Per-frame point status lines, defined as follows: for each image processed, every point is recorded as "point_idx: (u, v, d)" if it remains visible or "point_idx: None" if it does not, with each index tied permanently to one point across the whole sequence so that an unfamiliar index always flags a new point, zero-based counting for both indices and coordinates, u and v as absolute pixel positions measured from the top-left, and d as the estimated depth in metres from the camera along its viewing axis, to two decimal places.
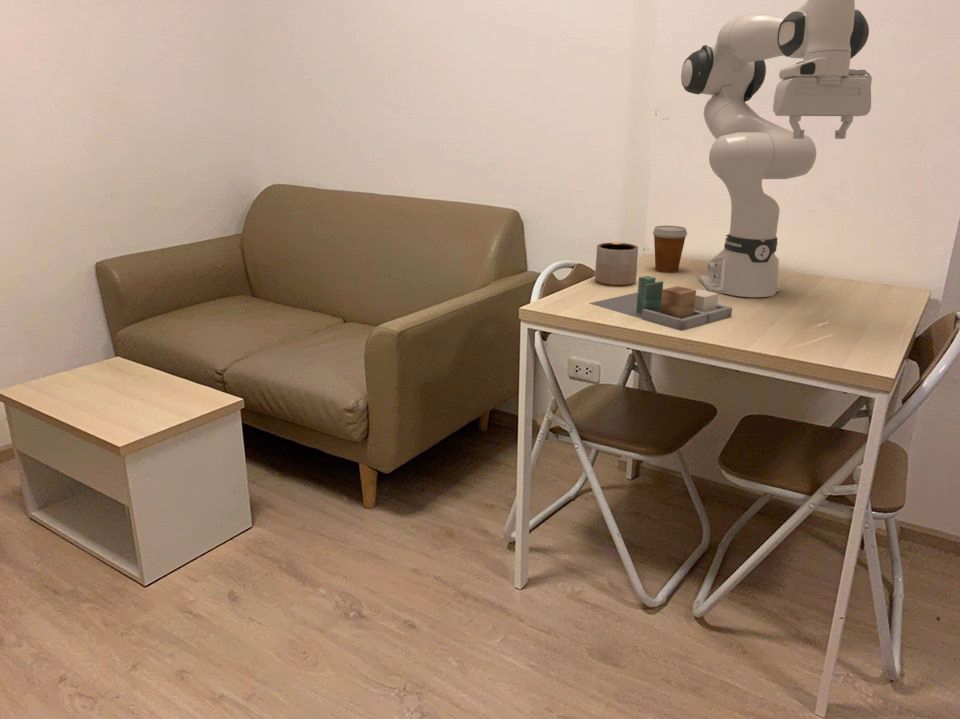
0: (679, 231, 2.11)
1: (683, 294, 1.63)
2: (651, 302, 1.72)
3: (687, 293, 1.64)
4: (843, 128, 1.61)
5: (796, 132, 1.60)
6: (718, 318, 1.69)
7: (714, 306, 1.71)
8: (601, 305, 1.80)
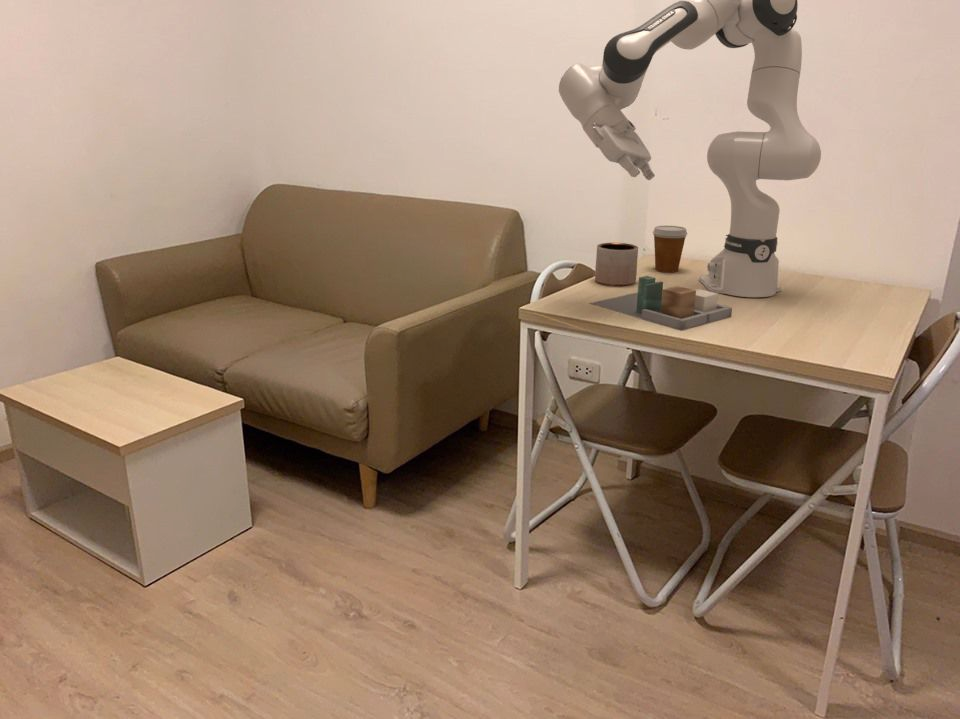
0: (679, 231, 2.11)
1: (683, 294, 1.63)
2: (651, 302, 1.72)
3: (687, 293, 1.64)
4: None
5: None
6: (718, 318, 1.69)
7: (714, 306, 1.71)
8: (601, 305, 1.80)
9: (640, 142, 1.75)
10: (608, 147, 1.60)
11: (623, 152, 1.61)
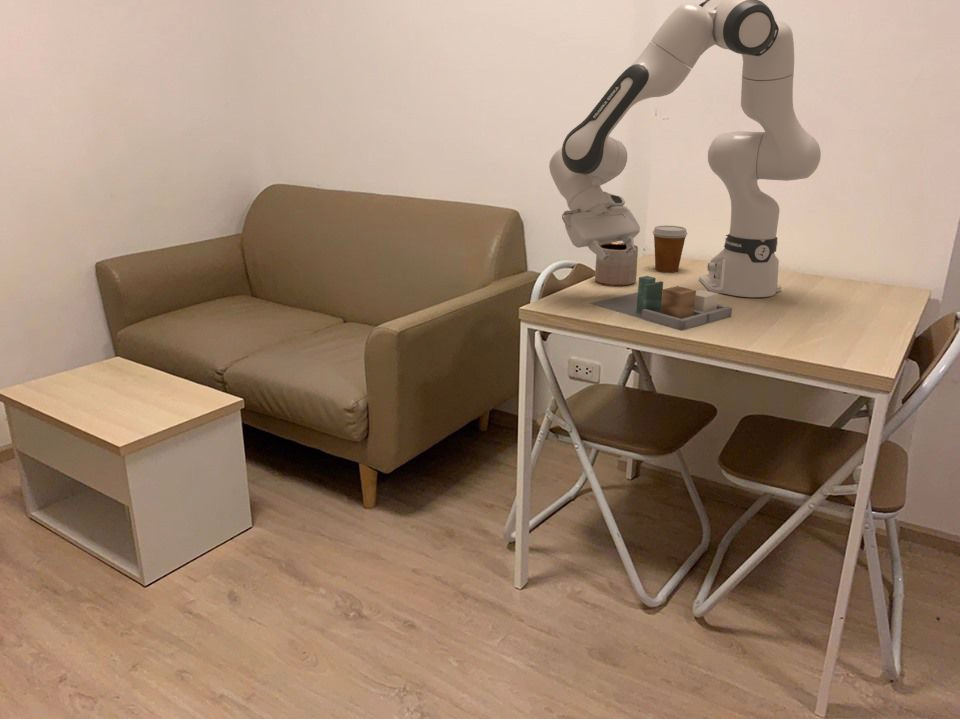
0: (679, 231, 2.11)
1: (683, 294, 1.63)
2: (651, 302, 1.72)
3: (687, 293, 1.64)
4: None
5: None
6: (718, 318, 1.69)
7: (714, 306, 1.71)
8: (601, 305, 1.80)
9: (629, 216, 1.83)
10: (574, 235, 1.74)
11: (589, 239, 1.73)
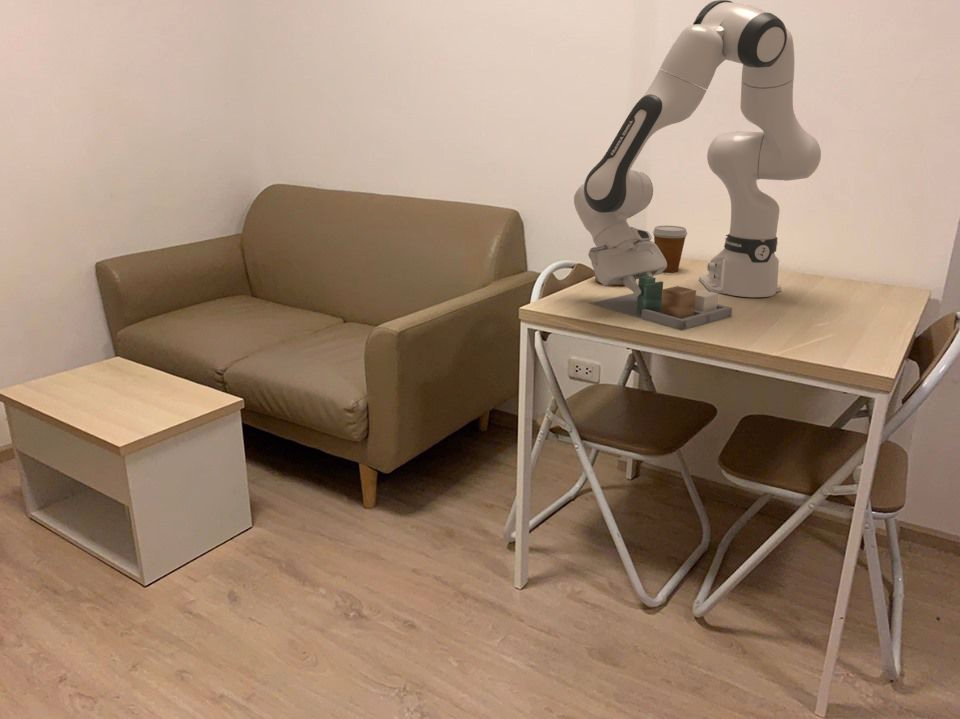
0: (679, 231, 2.11)
1: (683, 294, 1.63)
2: (651, 302, 1.72)
3: (687, 293, 1.64)
4: None
5: None
6: (718, 318, 1.69)
7: (714, 306, 1.71)
8: (601, 305, 1.80)
9: (656, 251, 1.79)
10: (601, 274, 1.69)
11: (616, 277, 1.69)
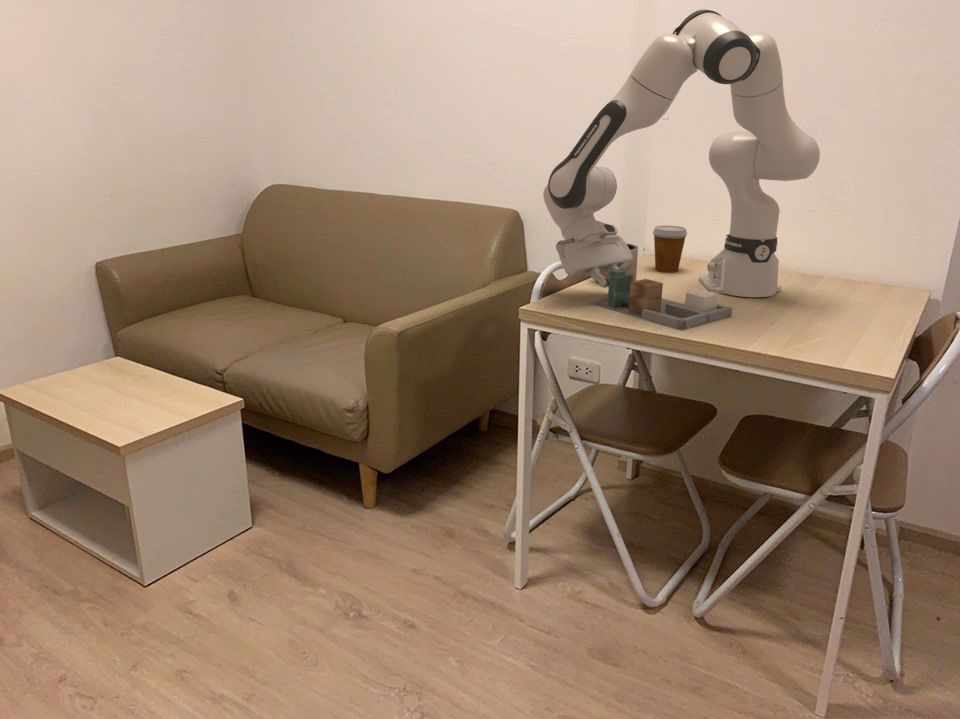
0: (679, 231, 2.11)
1: (650, 286, 1.69)
2: (621, 294, 1.78)
3: (654, 285, 1.70)
4: None
5: None
6: (718, 318, 1.69)
7: (714, 306, 1.71)
8: (601, 305, 1.80)
9: (622, 244, 1.87)
10: (567, 265, 1.77)
11: (582, 269, 1.77)
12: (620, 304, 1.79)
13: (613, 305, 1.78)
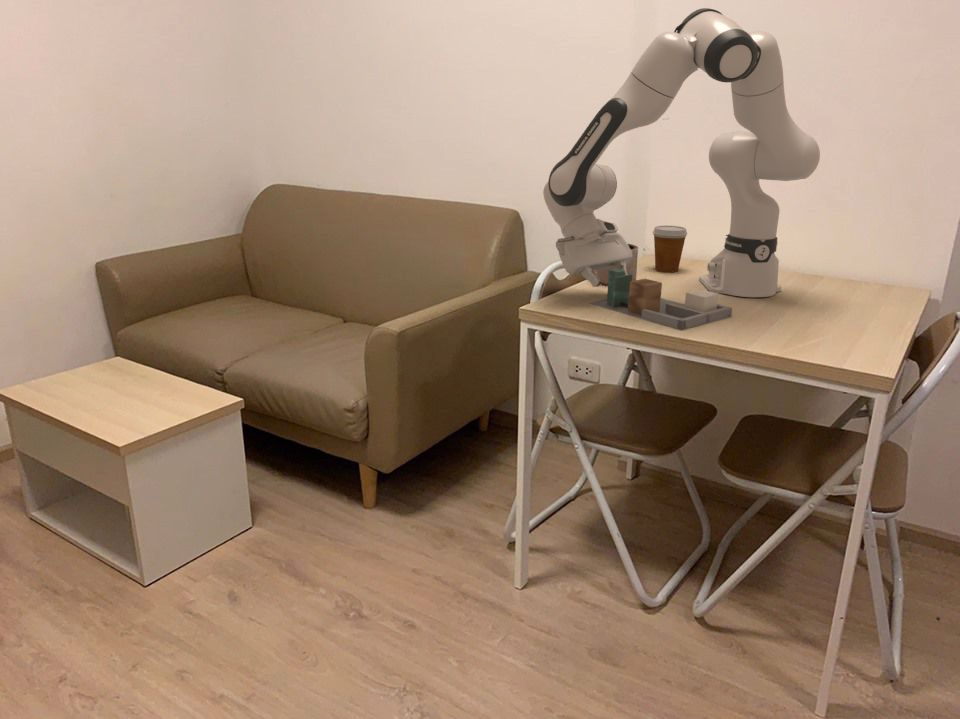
0: (679, 231, 2.11)
1: (649, 286, 1.69)
2: (620, 294, 1.78)
3: (653, 285, 1.70)
4: None
5: None
6: (718, 318, 1.69)
7: (714, 306, 1.71)
8: (601, 305, 1.80)
9: (621, 242, 1.87)
10: (567, 263, 1.77)
11: (582, 267, 1.77)
12: (619, 304, 1.79)
13: (612, 305, 1.78)
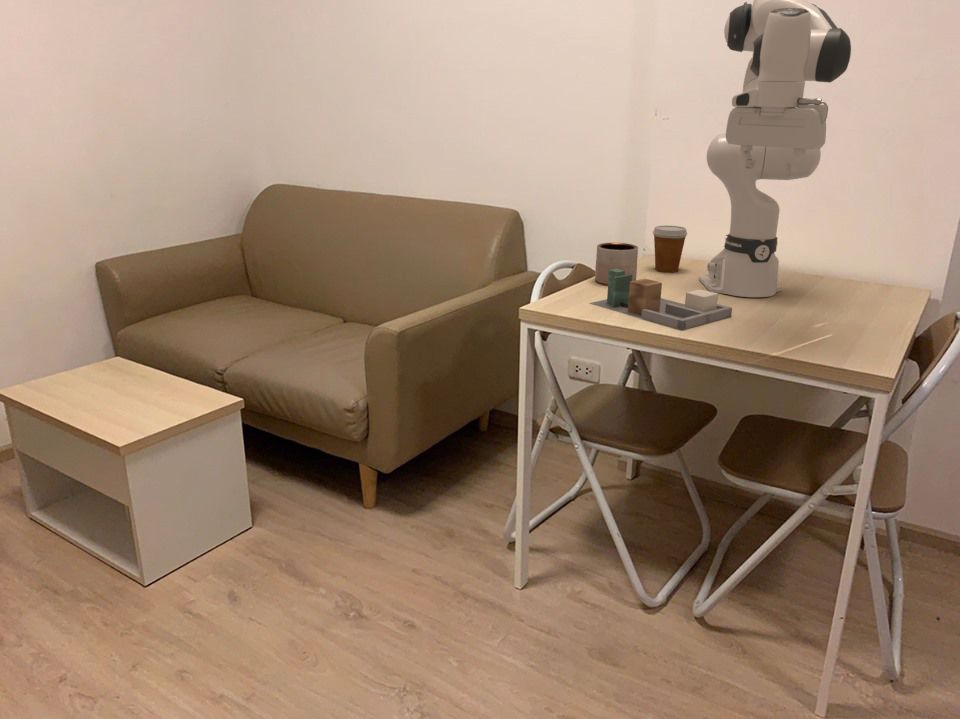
0: (679, 231, 2.11)
1: (649, 286, 1.69)
2: (620, 294, 1.78)
3: (653, 285, 1.70)
4: None
5: None
6: (718, 318, 1.69)
7: (714, 306, 1.71)
8: (601, 305, 1.80)
9: None
10: (821, 136, 1.45)
11: None
12: (619, 304, 1.79)
13: (612, 305, 1.78)
